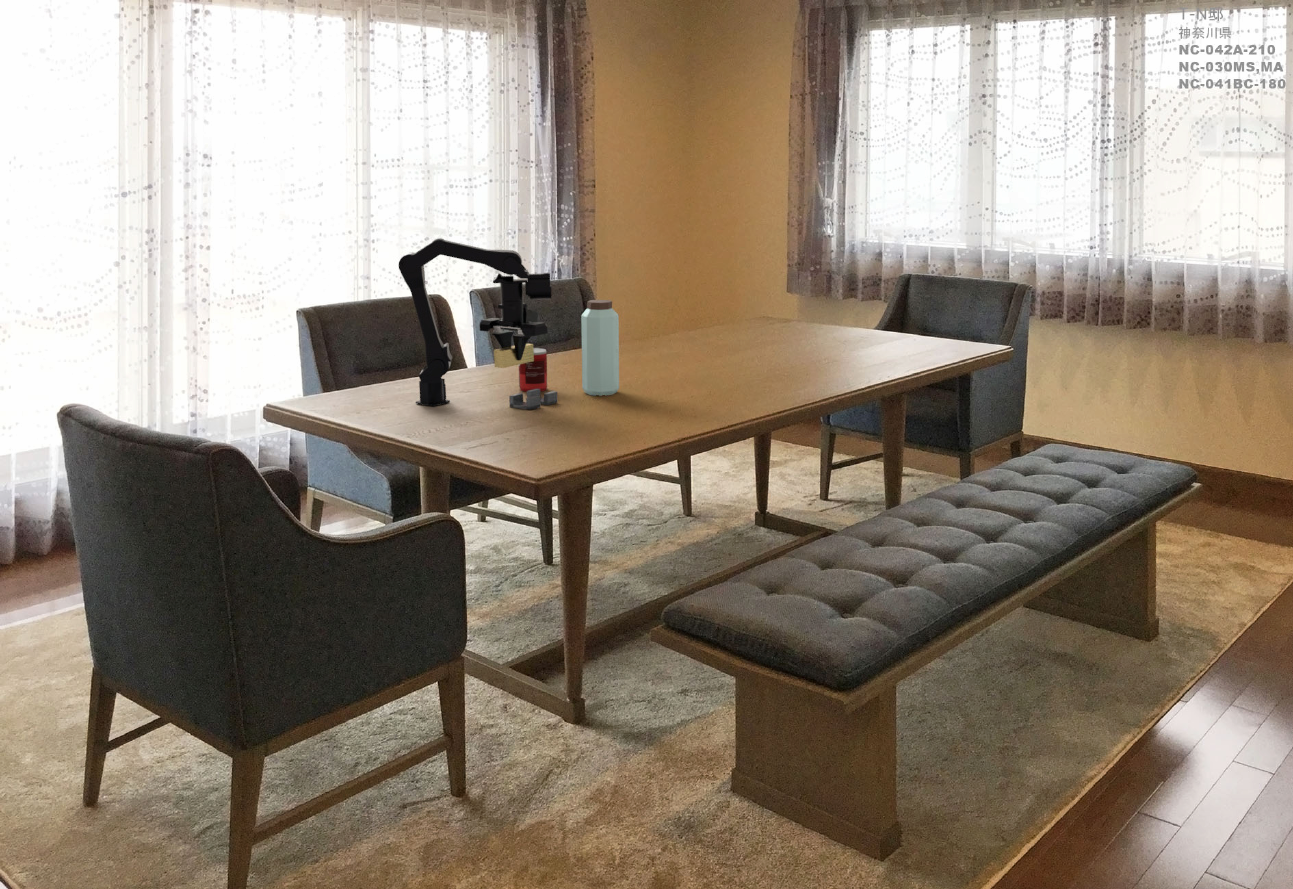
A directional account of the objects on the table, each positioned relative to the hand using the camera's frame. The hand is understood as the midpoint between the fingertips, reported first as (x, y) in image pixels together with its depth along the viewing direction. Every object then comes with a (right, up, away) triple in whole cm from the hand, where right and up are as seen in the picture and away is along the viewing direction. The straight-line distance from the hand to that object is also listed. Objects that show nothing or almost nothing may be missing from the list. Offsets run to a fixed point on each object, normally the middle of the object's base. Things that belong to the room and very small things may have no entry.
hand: (514, 359), depth 325 cm
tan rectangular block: (0, -1, 0) cm, 1 cm away
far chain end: (+7, -11, +2) cm, 13 cm away
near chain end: (+3, -13, -4) cm, 14 cm away
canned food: (+3, -7, +19) cm, 20 cm away
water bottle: (+22, -8, +14) cm, 27 cm away
